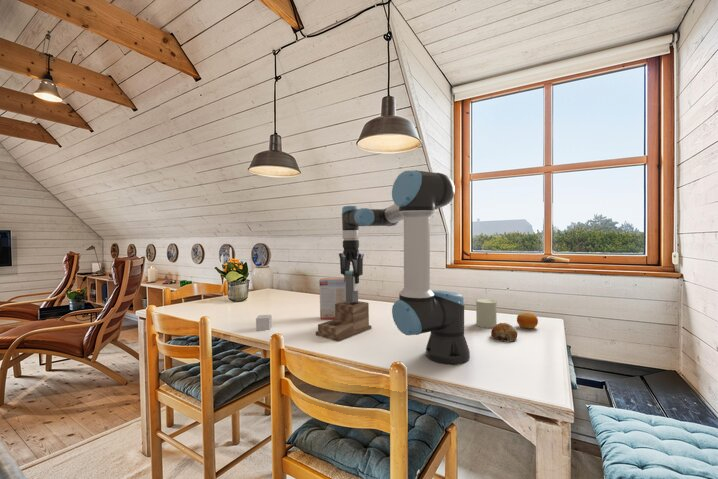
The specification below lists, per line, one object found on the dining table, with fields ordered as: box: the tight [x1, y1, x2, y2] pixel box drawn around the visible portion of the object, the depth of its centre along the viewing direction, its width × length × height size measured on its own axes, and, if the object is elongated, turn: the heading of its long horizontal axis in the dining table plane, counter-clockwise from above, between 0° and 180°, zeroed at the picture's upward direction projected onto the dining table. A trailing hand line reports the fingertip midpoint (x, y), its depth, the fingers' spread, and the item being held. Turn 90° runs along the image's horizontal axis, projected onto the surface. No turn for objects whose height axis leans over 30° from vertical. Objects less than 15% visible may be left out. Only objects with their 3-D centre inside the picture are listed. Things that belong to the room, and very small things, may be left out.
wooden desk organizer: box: [315, 300, 373, 342], centre depth 148 cm, size 14×22×12 cm, turn 140°
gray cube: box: [255, 314, 273, 332], centre depth 155 cm, size 6×6×6 cm
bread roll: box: [490, 322, 518, 342], centre depth 136 cm, size 10×10×8 cm
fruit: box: [516, 312, 539, 329], centre depth 150 cm, size 8×8×8 cm
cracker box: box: [318, 277, 346, 320], centre depth 172 cm, size 14×6×21 cm, turn 88°
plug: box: [345, 269, 359, 302], centre depth 151 cm, size 4×4×14 cm
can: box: [475, 298, 498, 329], centre depth 154 cm, size 9×9×12 cm
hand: (351, 290), depth 151 cm, fingers closed on plug, 4 cm apart
